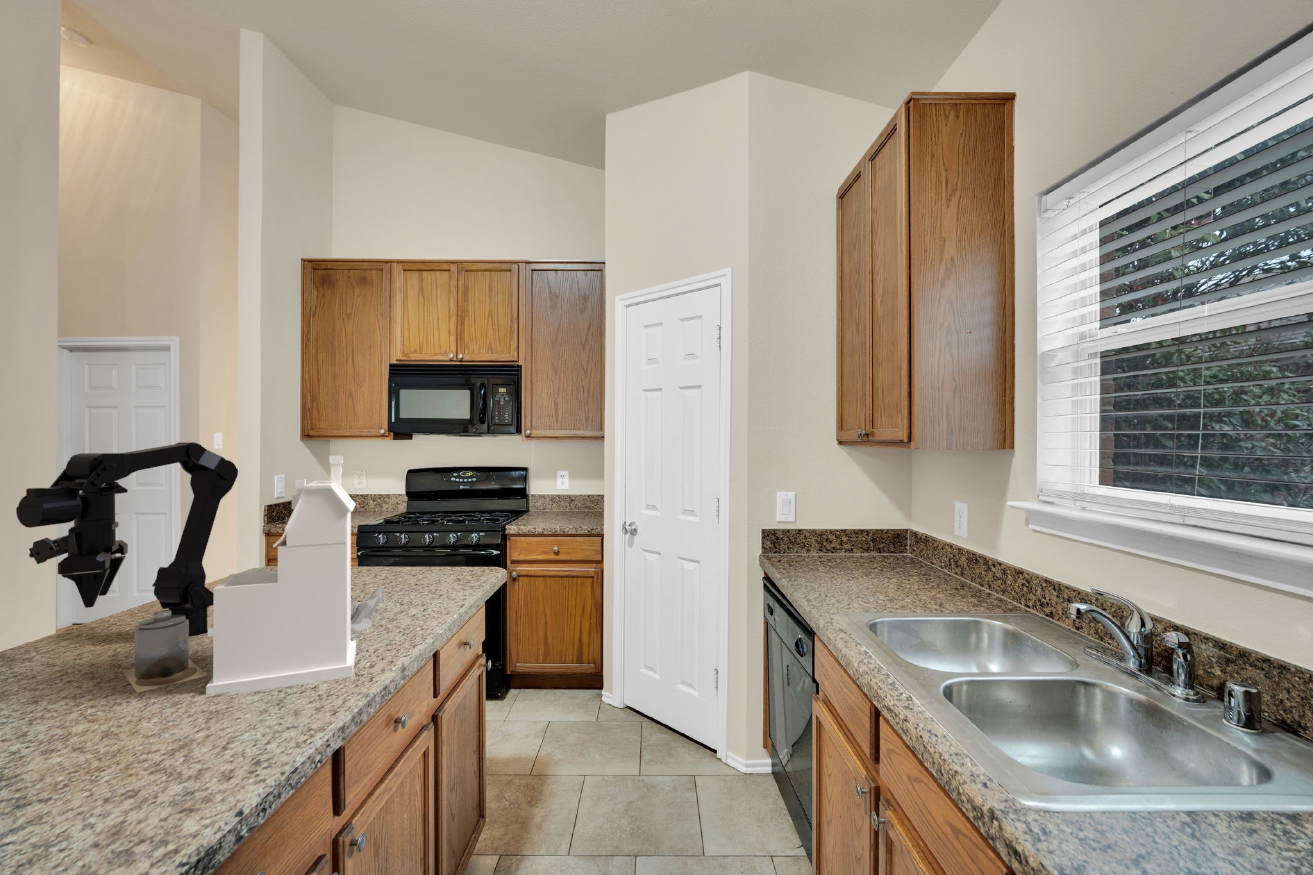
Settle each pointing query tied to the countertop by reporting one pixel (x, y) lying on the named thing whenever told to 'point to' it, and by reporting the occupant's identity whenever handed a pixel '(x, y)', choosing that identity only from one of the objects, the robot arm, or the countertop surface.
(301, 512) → the dollhouse
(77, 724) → the countertop surface
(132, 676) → the tan rectangular board
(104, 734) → the countertop surface
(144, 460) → the robot arm
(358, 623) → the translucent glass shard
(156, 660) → the grey lidded jar
